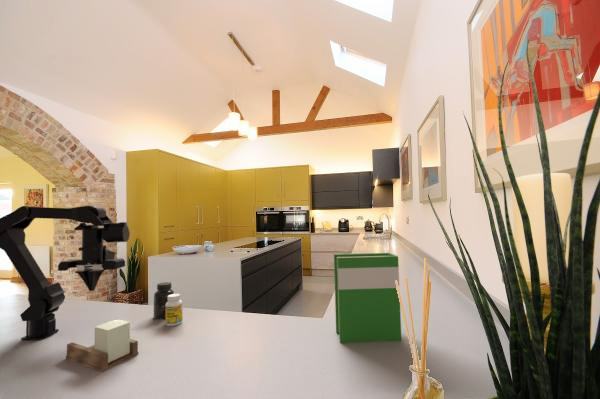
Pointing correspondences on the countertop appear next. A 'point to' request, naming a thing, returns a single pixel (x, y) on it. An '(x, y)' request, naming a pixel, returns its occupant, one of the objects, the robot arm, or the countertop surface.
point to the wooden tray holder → (97, 356)
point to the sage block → (113, 339)
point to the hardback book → (367, 297)
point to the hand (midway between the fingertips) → (92, 290)
